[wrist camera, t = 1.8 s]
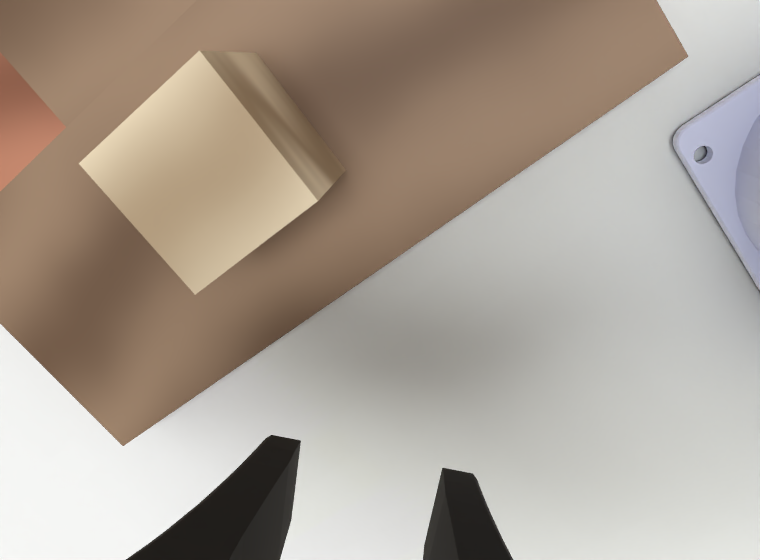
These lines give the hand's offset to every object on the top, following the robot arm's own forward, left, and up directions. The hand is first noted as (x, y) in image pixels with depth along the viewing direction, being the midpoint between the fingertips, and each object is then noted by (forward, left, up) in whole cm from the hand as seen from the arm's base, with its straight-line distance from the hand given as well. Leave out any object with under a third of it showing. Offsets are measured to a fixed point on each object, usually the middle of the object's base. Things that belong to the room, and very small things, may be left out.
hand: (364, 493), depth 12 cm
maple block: (+7, 0, -7) cm, 10 cm away
